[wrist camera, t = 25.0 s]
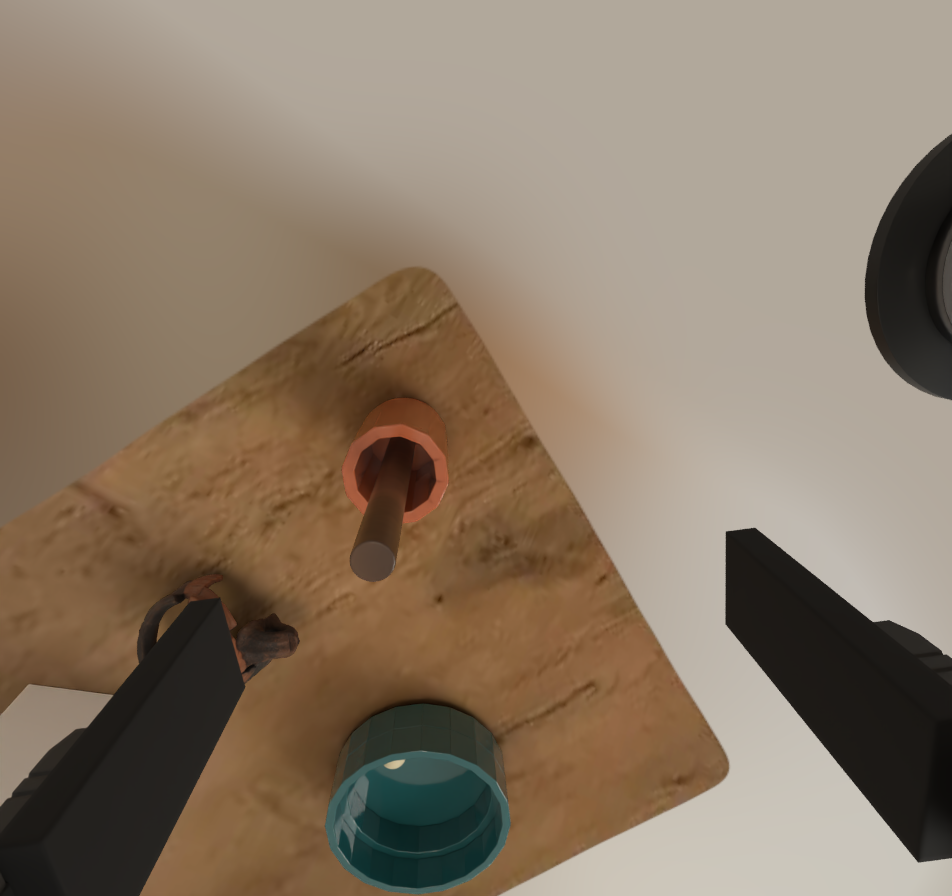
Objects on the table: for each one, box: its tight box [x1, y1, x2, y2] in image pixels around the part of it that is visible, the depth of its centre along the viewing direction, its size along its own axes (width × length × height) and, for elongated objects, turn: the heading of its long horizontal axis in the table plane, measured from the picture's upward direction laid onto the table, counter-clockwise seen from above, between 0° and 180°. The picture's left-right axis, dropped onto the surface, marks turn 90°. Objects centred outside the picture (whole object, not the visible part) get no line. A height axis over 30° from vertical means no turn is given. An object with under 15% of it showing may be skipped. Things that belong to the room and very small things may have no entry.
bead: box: [384, 760, 405, 769], centre depth 51 cm, size 2×2×2 cm
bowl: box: [325, 703, 511, 894], centre depth 51 cm, size 15×15×6 cm
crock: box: [342, 397, 449, 523], centre depth 40 cm, size 7×7×9 cm
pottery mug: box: [137, 574, 300, 684], centre depth 46 cm, size 12×10×8 cm
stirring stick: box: [350, 437, 416, 582], centre depth 34 cm, size 2×2×20 cm
